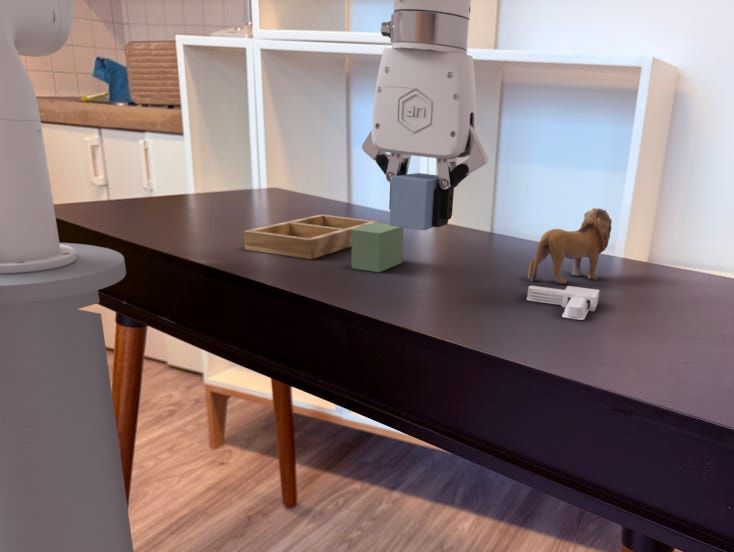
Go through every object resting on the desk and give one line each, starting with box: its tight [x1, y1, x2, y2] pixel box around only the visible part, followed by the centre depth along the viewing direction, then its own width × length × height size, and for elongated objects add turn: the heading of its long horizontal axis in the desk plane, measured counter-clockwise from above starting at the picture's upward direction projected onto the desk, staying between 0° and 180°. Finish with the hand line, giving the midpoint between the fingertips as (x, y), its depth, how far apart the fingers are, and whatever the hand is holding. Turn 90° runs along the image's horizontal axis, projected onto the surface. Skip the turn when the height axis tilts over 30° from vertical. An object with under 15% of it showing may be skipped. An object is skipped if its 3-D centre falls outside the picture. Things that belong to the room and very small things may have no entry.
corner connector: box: [526, 285, 600, 321], centre depth 74 cm, size 8×8×2 cm
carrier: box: [243, 214, 380, 260], centre depth 99 cm, size 20×10×3 cm, turn 162°
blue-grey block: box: [389, 172, 439, 231], centre depth 72 cm, size 7×4×5 cm, turn 162°
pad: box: [351, 222, 404, 273], centre depth 87 cm, size 7×4×5 cm, turn 162°
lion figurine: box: [527, 207, 613, 285], centre depth 87 cm, size 15×5×9 cm, turn 136°
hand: (420, 220), depth 72 cm, fingers closed on blue-grey block, 4 cm apart
